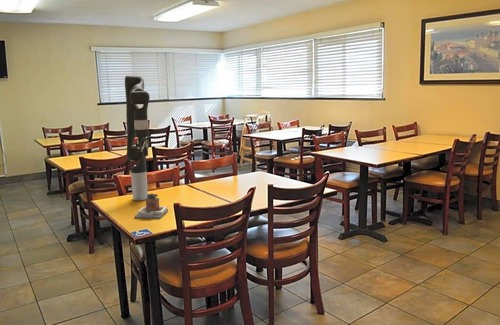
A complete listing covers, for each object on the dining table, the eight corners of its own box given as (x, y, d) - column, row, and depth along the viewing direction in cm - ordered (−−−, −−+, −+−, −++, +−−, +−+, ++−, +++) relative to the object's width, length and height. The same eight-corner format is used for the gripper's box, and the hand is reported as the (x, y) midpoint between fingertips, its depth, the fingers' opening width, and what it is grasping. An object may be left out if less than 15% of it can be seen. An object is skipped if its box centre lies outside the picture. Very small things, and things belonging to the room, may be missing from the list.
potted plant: (144, 211, 234) (143, 194, 232) (148, 209, 237) (146, 192, 235) (157, 212, 232) (156, 194, 230) (161, 210, 235) (159, 193, 233)
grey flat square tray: (143, 210, 239) (143, 205, 239) (168, 211, 238) (167, 205, 237) (134, 218, 226) (134, 212, 225) (160, 218, 224) (159, 213, 223)
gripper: (139, 126, 240) (141, 155, 243) (129, 129, 226) (131, 159, 229) (152, 126, 239) (154, 155, 242) (143, 129, 225) (145, 159, 228)
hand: (143, 157), depth 235 cm, fingers open, 8 cm apart
